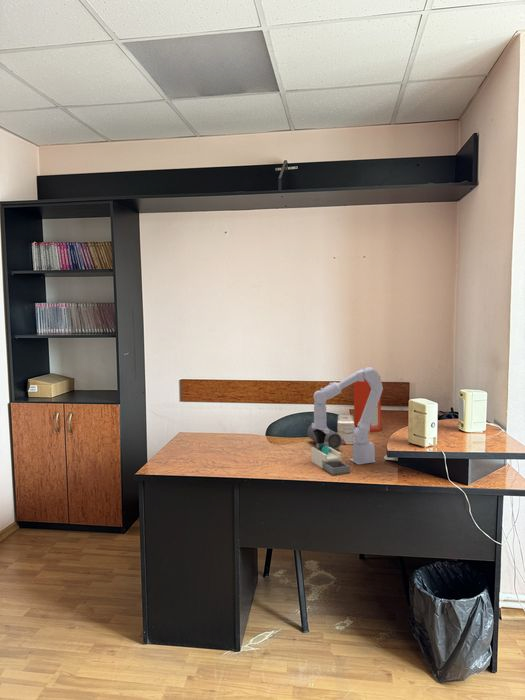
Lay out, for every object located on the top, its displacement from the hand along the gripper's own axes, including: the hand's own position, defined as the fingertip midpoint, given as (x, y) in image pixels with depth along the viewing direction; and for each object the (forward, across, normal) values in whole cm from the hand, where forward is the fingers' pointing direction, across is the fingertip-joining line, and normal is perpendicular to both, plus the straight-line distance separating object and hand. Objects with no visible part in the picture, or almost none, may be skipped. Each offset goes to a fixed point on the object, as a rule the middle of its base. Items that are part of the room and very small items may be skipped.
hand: (320, 445), depth 224 cm
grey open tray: (+8, +16, 0) cm, 17 cm away
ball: (+1, +5, 0) cm, 5 cm away
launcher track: (+8, +6, 0) cm, 9 cm away
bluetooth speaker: (+8, -22, +13) cm, 27 cm away
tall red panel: (+8, -47, +54) cm, 72 cm away
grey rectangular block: (+2, +2, 0) cm, 3 cm away
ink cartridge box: (+8, -23, +26) cm, 35 cm away
